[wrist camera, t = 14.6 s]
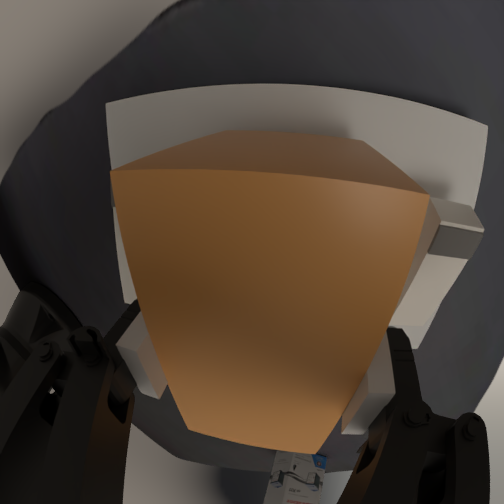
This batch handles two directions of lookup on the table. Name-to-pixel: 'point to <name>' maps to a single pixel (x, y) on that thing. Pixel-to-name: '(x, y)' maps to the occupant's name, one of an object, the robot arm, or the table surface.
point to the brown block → (267, 275)
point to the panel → (312, 132)
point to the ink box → (296, 478)
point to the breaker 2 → (437, 259)
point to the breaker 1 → (122, 260)
